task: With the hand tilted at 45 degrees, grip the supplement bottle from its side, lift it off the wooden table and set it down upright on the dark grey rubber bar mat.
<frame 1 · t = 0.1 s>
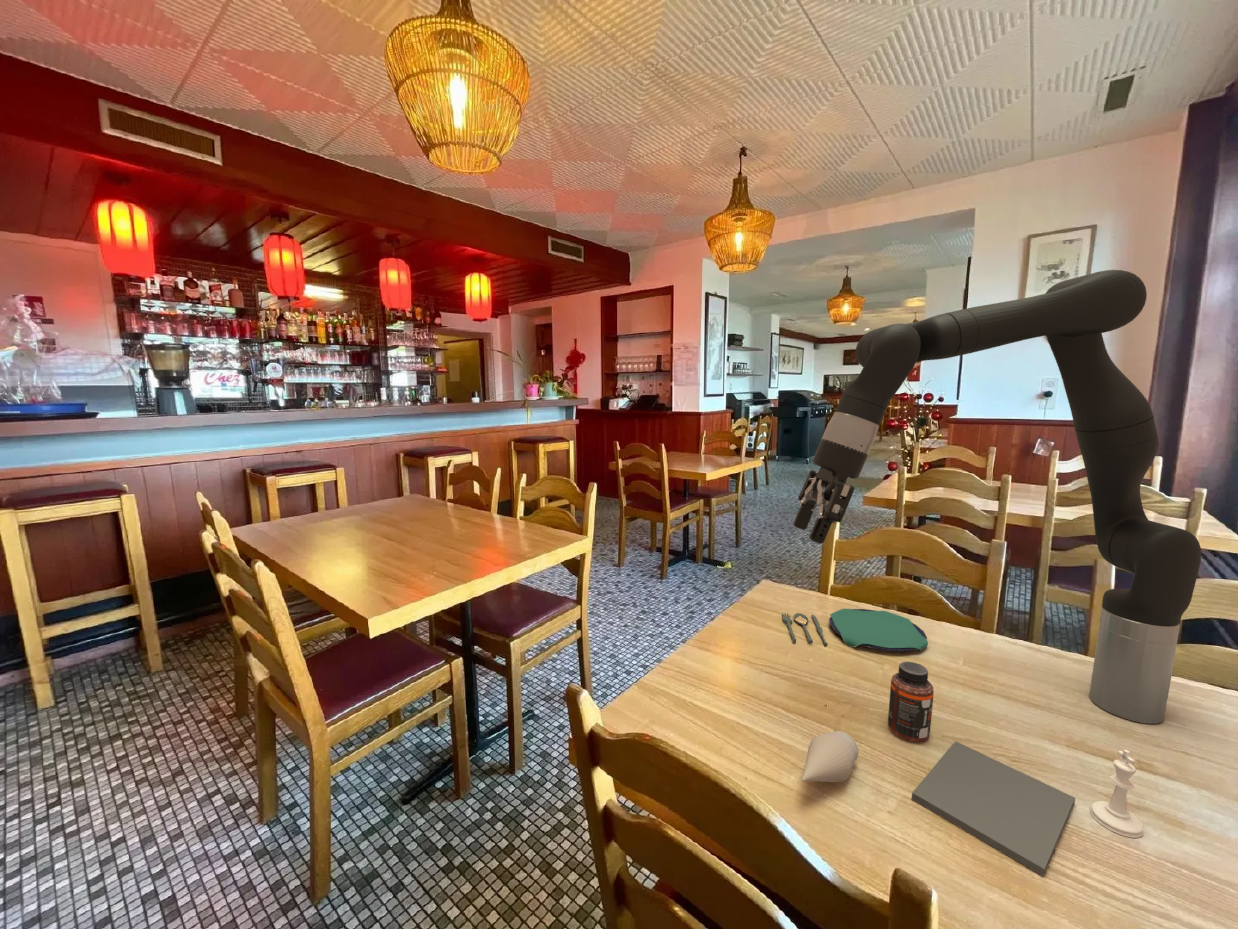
hand: (806, 534, 84), 31 cm above the table, fingers open, 8 cm apart
bar mat: (992, 801, 67), on the table
supplement bottle: (908, 733, 81), on the table
cutlery set: (852, 634, 114), on the table
chess piece: (1115, 822, 64), on the table
ice cream cone: (826, 782, 71), on the table
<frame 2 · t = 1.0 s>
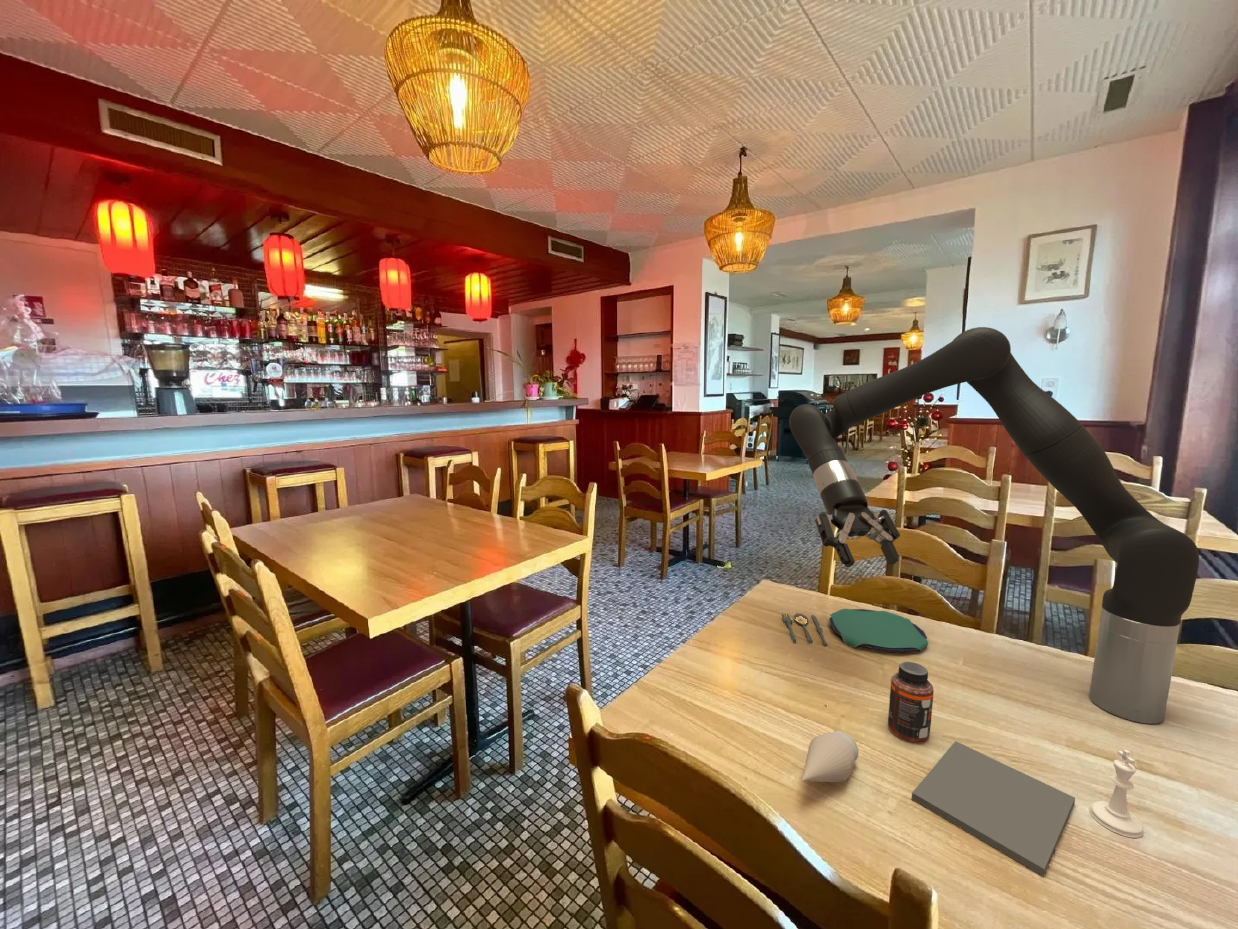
hand: (872, 564, 88), 25 cm above the table, fingers open, 8 cm apart
nothing on the table moved.
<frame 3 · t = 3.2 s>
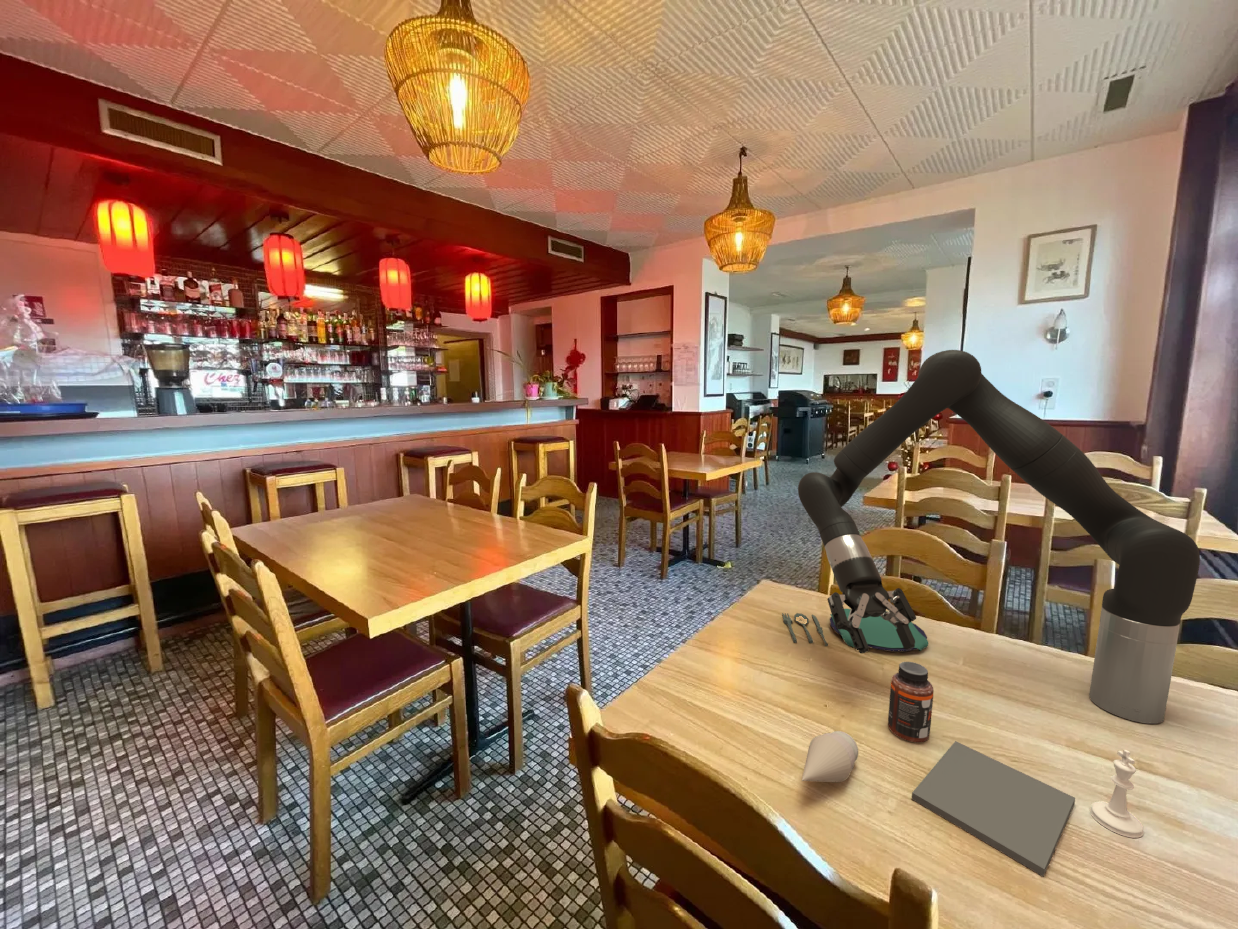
hand: (887, 650, 85), 11 cm above the table, fingers open, 8 cm apart
nothing on the table moved.
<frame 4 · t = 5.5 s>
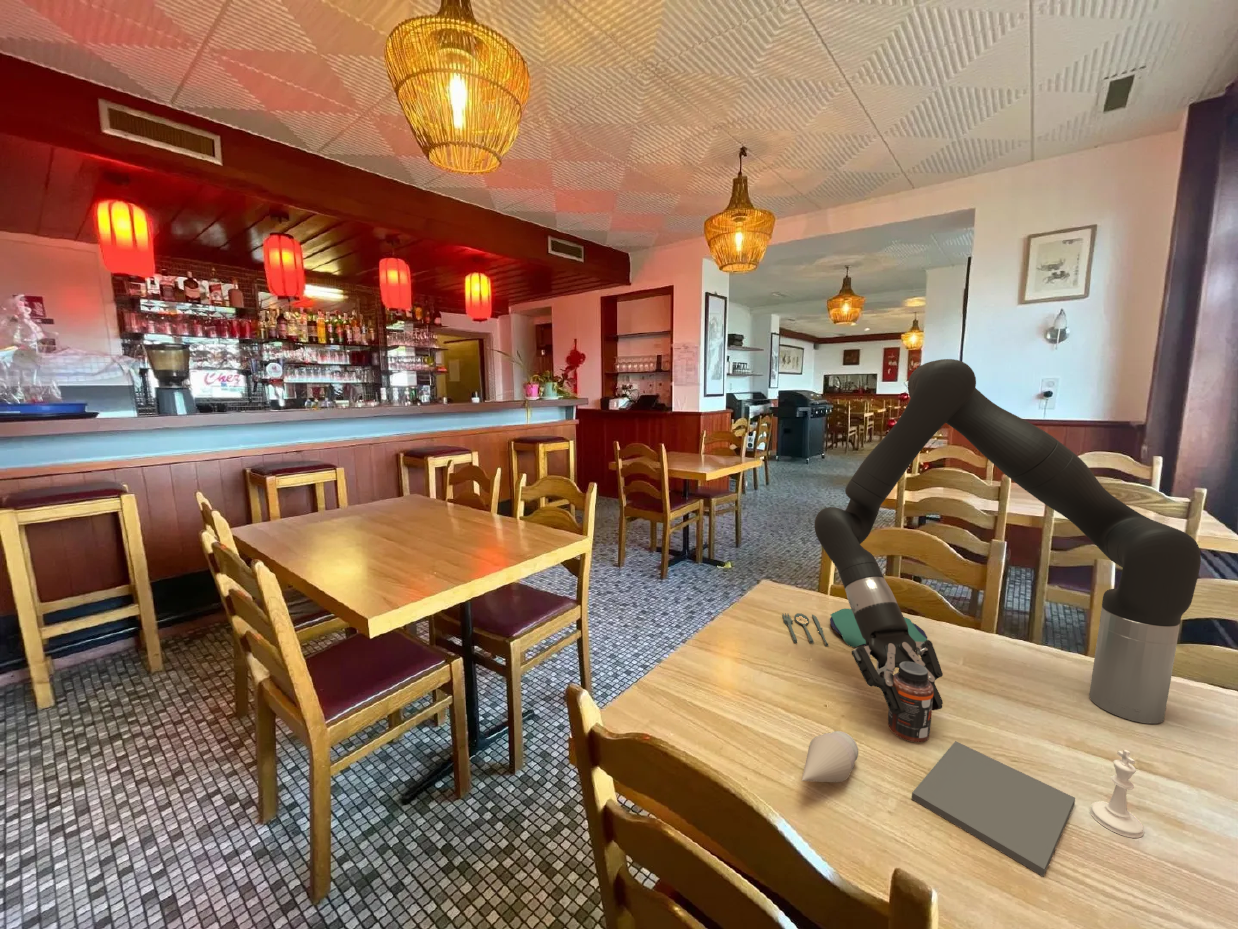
hand: (918, 711, 78), 5 cm above the table, fingers closed on supplement bottle, 6 cm apart
supplement bottle: (908, 733, 81), on the table, touching gripper
everything else where it was.
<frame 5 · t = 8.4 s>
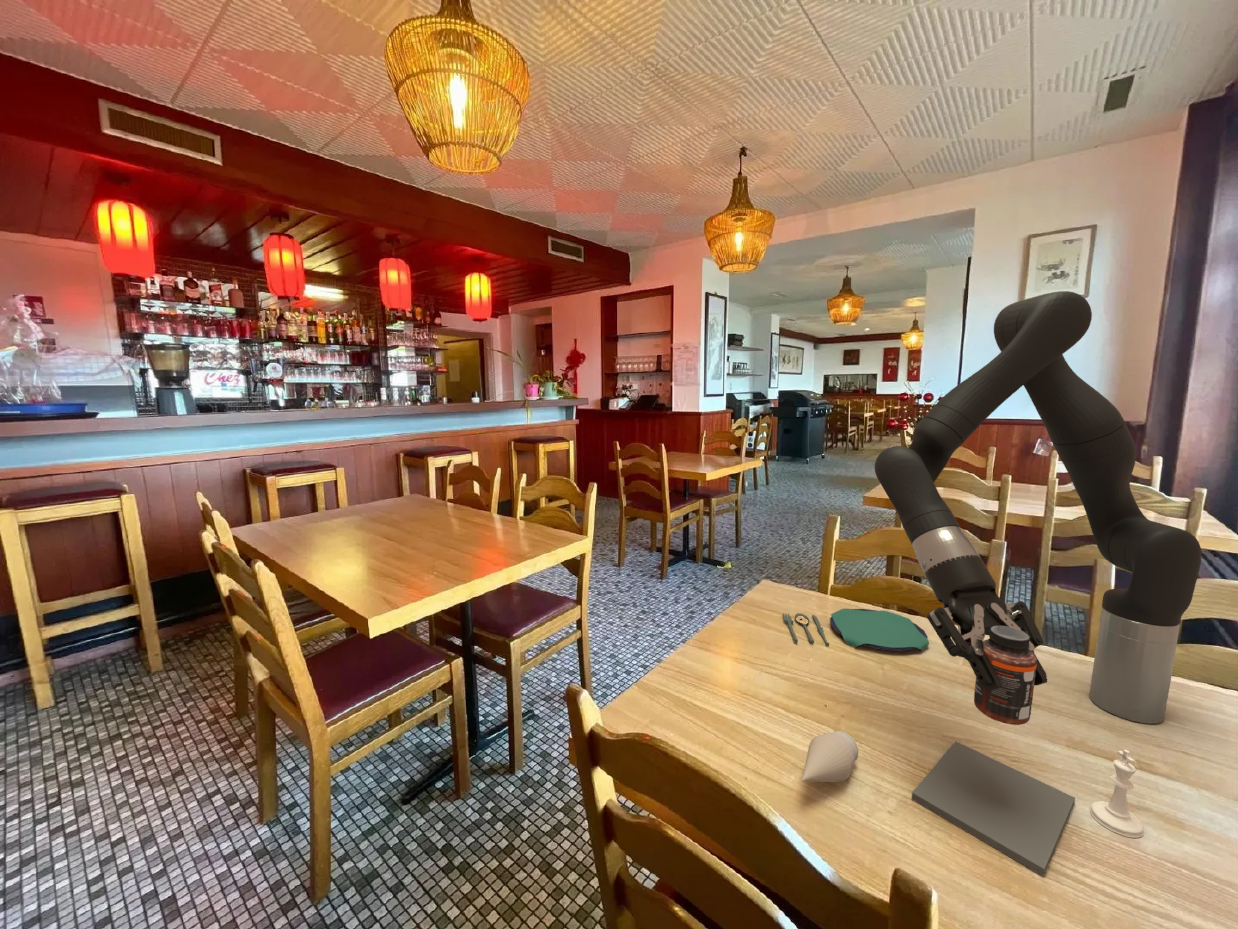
hand: (1017, 686, 63), 18 cm above the table, fingers closed on supplement bottle, 6 cm apart
supplement bottle: (1000, 714, 65), point 13 cm above the table, touching gripper
everything else where it was.
when the fingers open (7 cm above the table, at t = 11.3 s): supplement bottle stays where it is, resting on bar mat.
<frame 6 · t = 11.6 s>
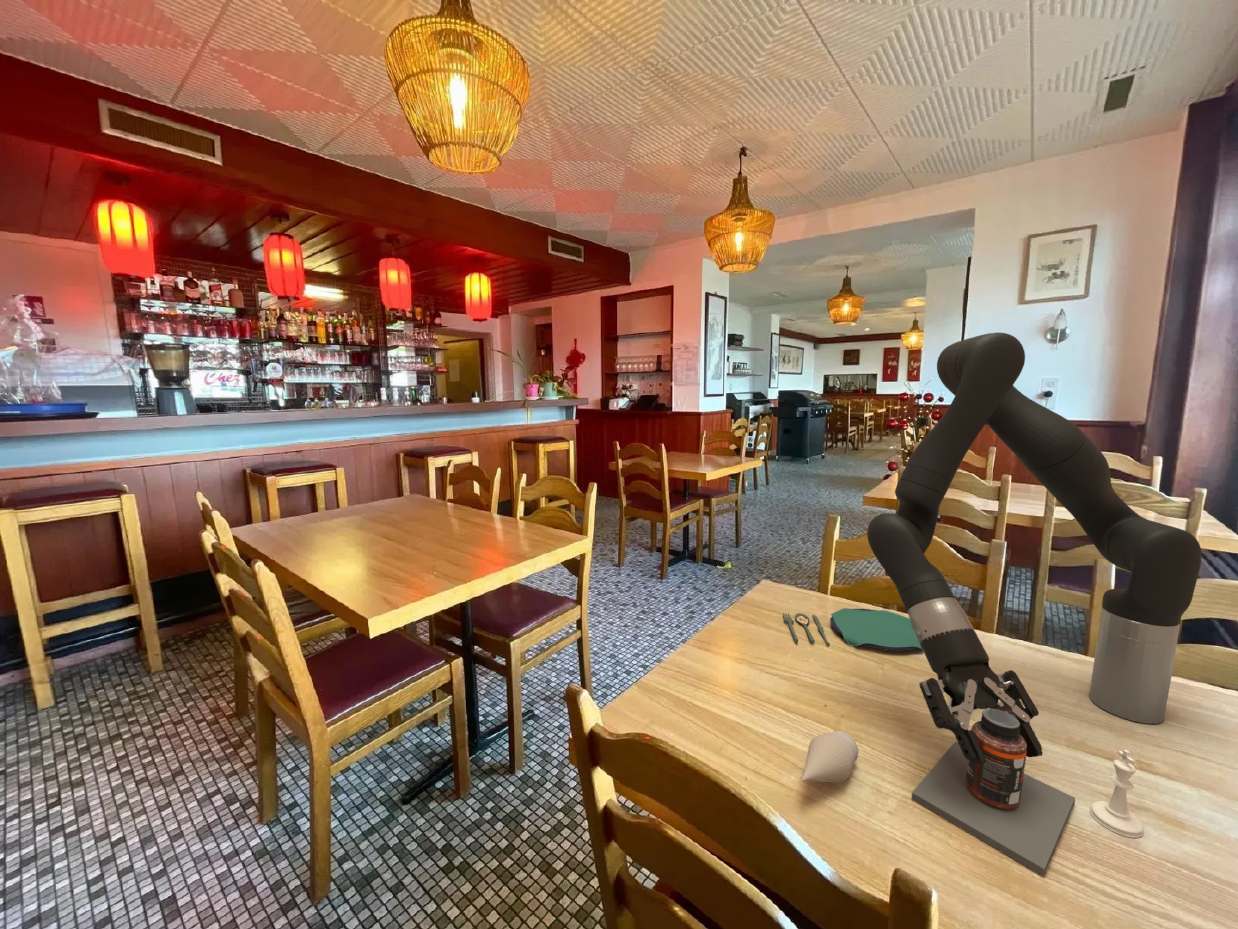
hand: (1007, 760, 65), 7 cm above the table, fingers open, 8 cm apart
supplement bottle: (991, 795, 67), point 1 cm above the table, touching bar mat
everything else where it was.
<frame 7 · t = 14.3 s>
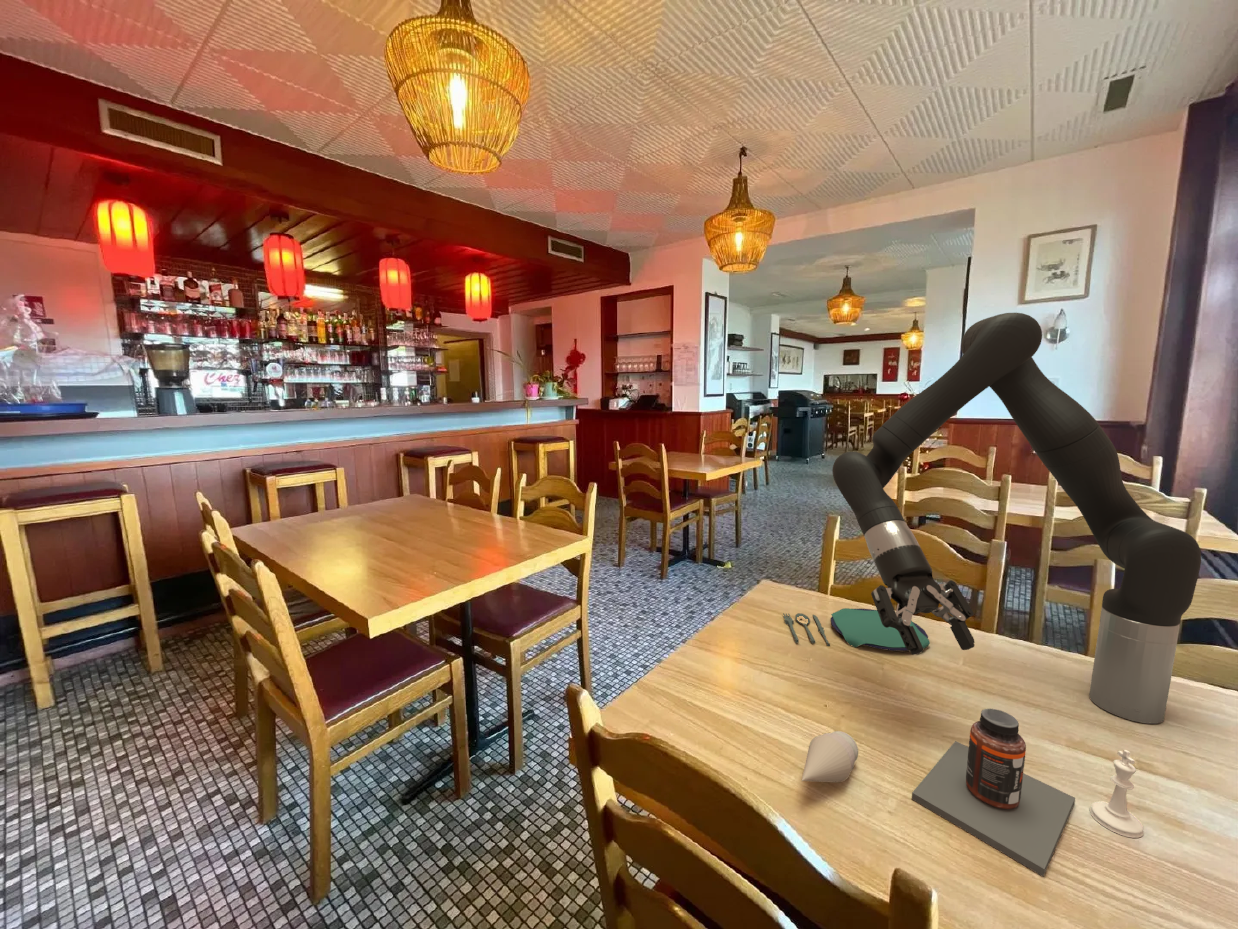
hand: (943, 651, 74), 16 cm above the table, fingers open, 8 cm apart
nothing on the table moved.
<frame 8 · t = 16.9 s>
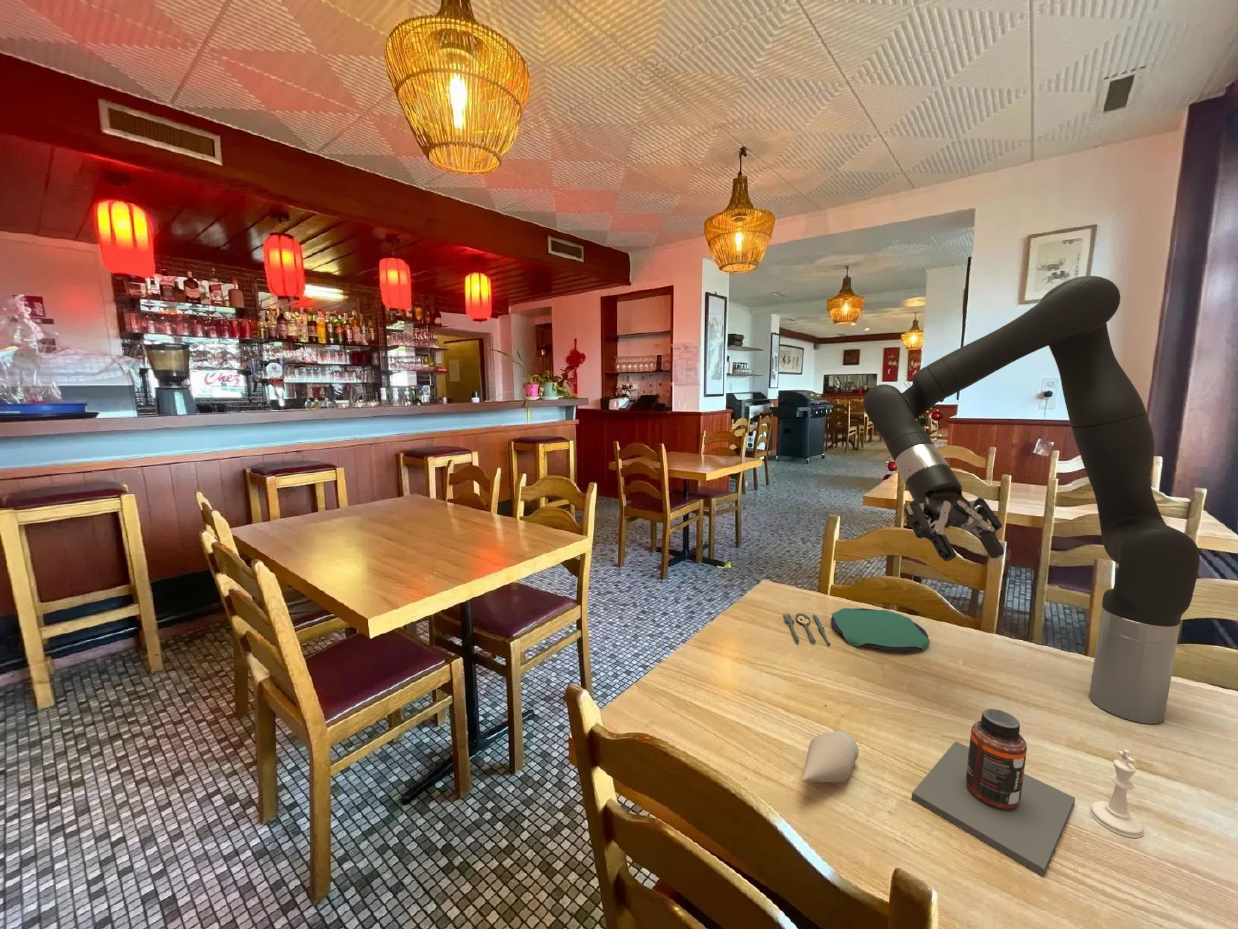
hand: (974, 557, 79), 29 cm above the table, fingers open, 8 cm apart
nothing on the table moved.
at the end: supplement bottle inside the target area on the bar mat (0.2 cm from its centre), point 0.8 cm above the bar mat's base; supplement bottle tilted 0°; the gripper is holding nothing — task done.
